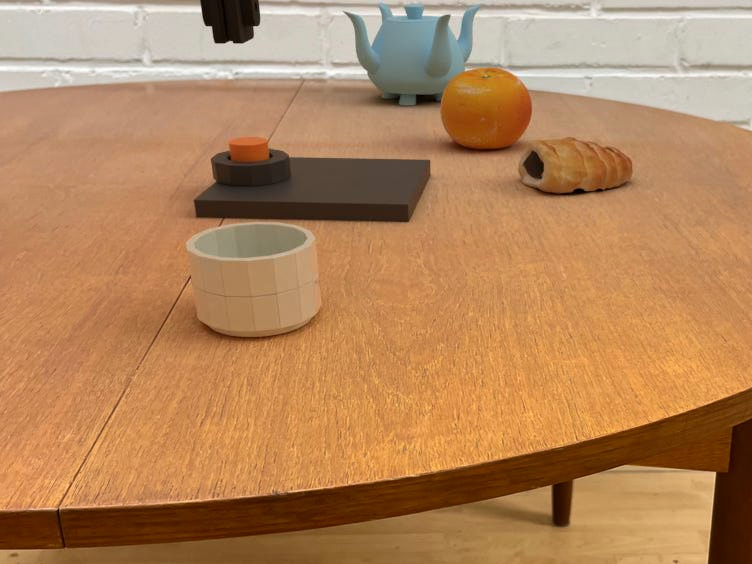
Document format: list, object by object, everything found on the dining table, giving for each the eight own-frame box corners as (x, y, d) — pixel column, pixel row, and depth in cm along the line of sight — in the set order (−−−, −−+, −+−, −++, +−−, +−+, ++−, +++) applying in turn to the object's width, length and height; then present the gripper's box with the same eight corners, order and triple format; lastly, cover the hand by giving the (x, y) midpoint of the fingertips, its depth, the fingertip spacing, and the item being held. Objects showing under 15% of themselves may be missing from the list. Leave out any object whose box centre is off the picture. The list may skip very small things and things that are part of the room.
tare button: (226, 165, 75) (223, 144, 75) (237, 156, 78) (234, 136, 77) (264, 166, 75) (261, 145, 74) (274, 157, 78) (271, 137, 77)
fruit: (423, 116, 87) (466, 34, 86) (428, 133, 96) (467, 58, 95) (504, 163, 88) (548, 83, 87) (502, 176, 96) (542, 103, 95)
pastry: (607, 169, 85) (610, 124, 83) (648, 188, 80) (653, 140, 78) (511, 180, 82) (512, 134, 80) (548, 201, 76) (550, 151, 74)
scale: (190, 218, 72) (184, 177, 71) (243, 172, 84) (238, 136, 82) (408, 223, 71) (407, 182, 70) (430, 176, 83) (429, 140, 82)
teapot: (450, 112, 108) (449, 12, 103) (341, 105, 111) (334, 8, 106) (483, 92, 119) (483, 1, 113) (382, 86, 122) (378, -3, 116)
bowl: (181, 338, 53) (167, 258, 50) (219, 294, 58) (208, 220, 56) (306, 342, 52) (298, 261, 50) (332, 297, 58) (326, 223, 56)
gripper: (347, -354, 50) (369, 33, 60) (65, -349, 51) (132, 33, 60) (320, -390, 44) (350, 49, 53) (-2, -384, 44) (85, 49, 54)
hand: (234, 40), depth 57 cm, fingers closed
